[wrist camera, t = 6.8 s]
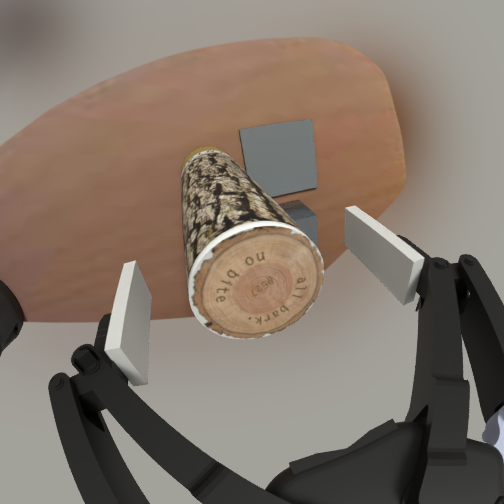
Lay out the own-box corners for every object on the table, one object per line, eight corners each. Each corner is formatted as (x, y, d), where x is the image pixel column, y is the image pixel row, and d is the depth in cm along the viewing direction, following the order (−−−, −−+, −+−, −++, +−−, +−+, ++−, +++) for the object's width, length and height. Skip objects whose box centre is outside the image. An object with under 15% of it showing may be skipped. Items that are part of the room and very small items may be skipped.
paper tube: (243, 174, 35) (342, 289, 14) (202, 205, 36) (243, 355, 15) (212, 134, 32) (283, 193, 11) (170, 168, 32) (157, 289, 12)
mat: (250, 200, 38) (251, 201, 37) (238, 129, 32) (239, 130, 32) (316, 186, 39) (317, 187, 39) (310, 119, 34) (311, 119, 33)
